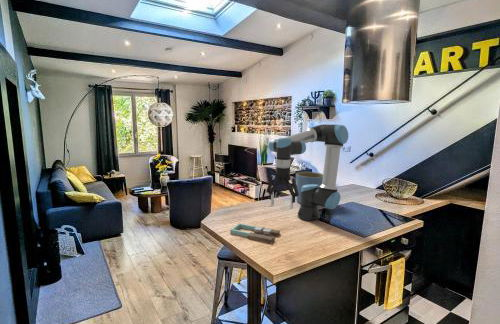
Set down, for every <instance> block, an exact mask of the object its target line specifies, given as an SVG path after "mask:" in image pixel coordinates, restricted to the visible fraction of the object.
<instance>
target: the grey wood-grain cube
mask: <svg viewBox="0 0 500 324" xmlns="http://www.w3.org/2000/svg"><path fill="white" fill-rule="evenodd" d="M264 228H265V229H264V230H263V235H266V236H272V229H273V228H269V229H268V227H264Z"/></svg>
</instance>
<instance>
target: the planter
mask: <svg viewBox="0 0 500 324" xmlns="http://www.w3.org/2000/svg"><path fill="white" fill-rule="evenodd" d="M295 175H296V177H295V178H296V185H297V189H298V192H299V195H298V196H297V197H295V201H296V202H297V203H299V204H301V188H302V186H303V185H308V184H316V185H319V186H320V185H321V184H322V180H323V173H321V172H313V171H302V172H301V171H300V172H297V173H296V174H295Z"/></svg>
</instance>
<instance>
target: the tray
mask: <svg viewBox="0 0 500 324" xmlns="http://www.w3.org/2000/svg"><path fill="white" fill-rule="evenodd" d="M256 227H257V225H256V226H254V225H250V224H245V223H239V222H238V224H236V225H234V226H233V227H232V228H231V229H230V230H229V231H230V232H229V233H230V234H231V235H237V236H242V237H245V238H248V234H249V233H250V232H247V231H242V230H239V229H245V230H249V231H254V228H256Z"/></svg>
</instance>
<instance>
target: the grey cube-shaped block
mask: <svg viewBox="0 0 500 324" xmlns="http://www.w3.org/2000/svg"><path fill="white" fill-rule="evenodd" d="M262 227H263V226H259V227H258V226H256V228H254V230H253V233H257V234H262V235H263V228H262Z"/></svg>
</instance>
